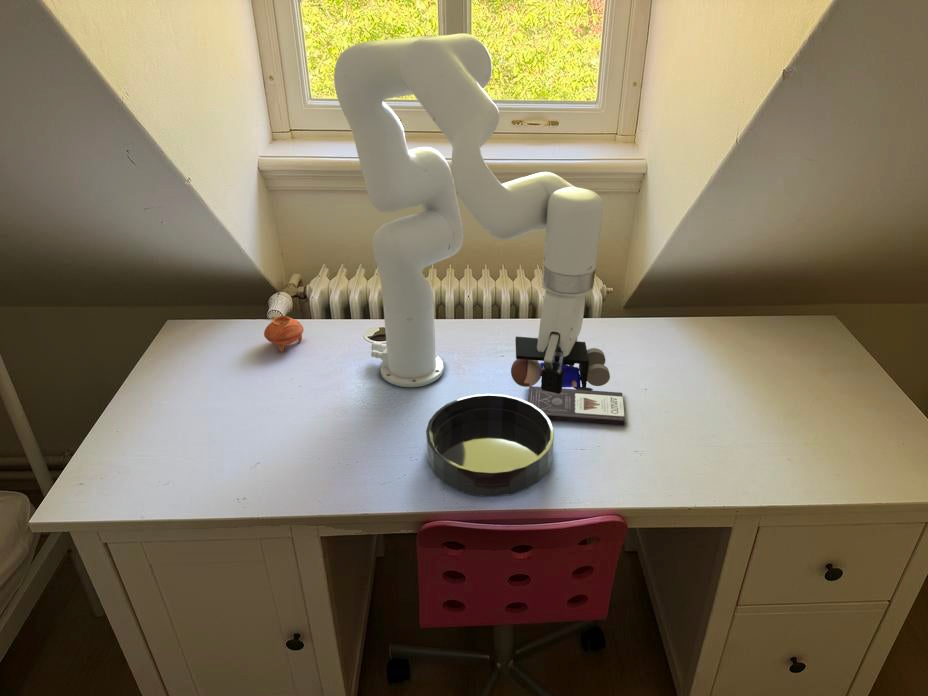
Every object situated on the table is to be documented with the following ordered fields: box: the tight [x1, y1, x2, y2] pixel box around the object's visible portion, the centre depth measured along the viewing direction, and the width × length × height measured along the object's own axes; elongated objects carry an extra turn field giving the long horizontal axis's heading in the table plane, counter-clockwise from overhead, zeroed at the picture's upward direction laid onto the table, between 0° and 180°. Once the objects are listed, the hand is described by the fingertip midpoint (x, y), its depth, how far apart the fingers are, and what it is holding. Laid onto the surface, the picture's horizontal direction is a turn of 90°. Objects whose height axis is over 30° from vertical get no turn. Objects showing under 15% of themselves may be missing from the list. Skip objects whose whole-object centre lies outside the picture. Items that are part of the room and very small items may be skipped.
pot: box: [263, 315, 305, 353], centre depth 144 cm, size 8×8×7 cm
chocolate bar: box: [527, 385, 626, 426], centre depth 130 cm, size 9×1×18 cm
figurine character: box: [510, 336, 611, 391], centre depth 109 cm, size 7×8×15 cm
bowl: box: [425, 393, 555, 497], centre depth 117 cm, size 21×21×6 cm
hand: (558, 376), depth 110 cm, fingers closed on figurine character, 7 cm apart
